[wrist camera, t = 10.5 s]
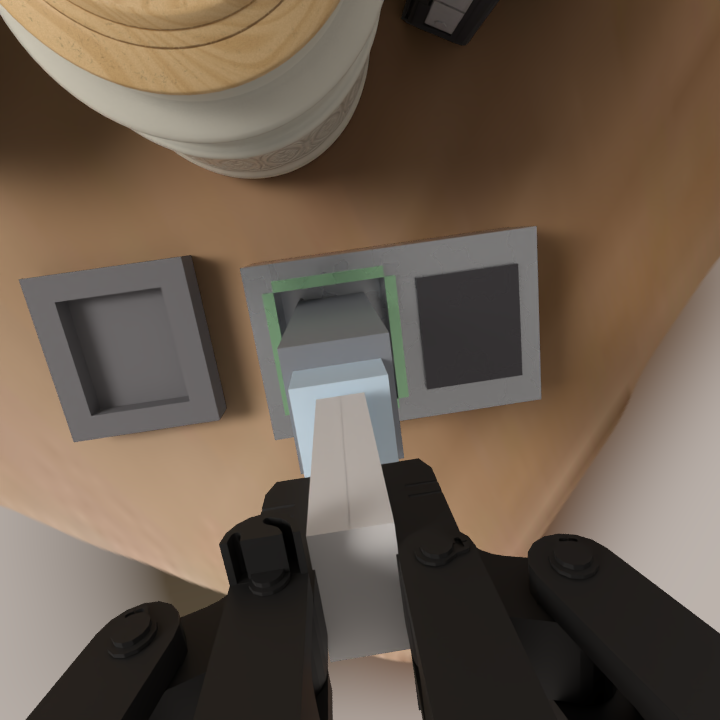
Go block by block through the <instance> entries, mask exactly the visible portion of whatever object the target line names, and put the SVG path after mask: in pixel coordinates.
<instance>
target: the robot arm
mask: <svg viewBox="0 0 720 720" xmlns="http://www.w3.org/2000/svg"><path fill="white" fill-rule="evenodd" d="M219 546H220V550H221V553H222V557H223V561H224V565H225V569H226V573H227V576H228V580H229V584H230V588H229V591H228V595H227V596H225V597H224V598H222V599H221V600H220V601H218V602H216V603H214V604H212V605H210V606H208V607H206V608H203V609H201V610H198V611H196V612H193V613H191V614H188V615H186V616H184V617H181V618H180V615H179V612H178V611H177V610H176V609H175V608H174V606H173V605H172V604H168V603H164V602H160V601H158V602H152V603H144V604H141V605H139V606H136V607H134V608H131V609H129V610H126V611H125V612H123V613H122V614H120V615H119V616H117V617H116V618H114V619H112V620H111V621H110V622H109V623H108V624H106V625H105V627H103V628H102V629H101V630H100V631H99V632H98V633H97V634H96V635H95V637H94V638H93V639H92V640H91V641H90V643H89V644H88V645H87V646H86V647H85V649H84V650H83V651H82V652H81V653H80V655H79V656H78V657H77V658H76V659H75V661H74V662H73V663H72V664H71V665H70V667H69V668H68V669H67V670H66V672H65V673H64V674H63V675H62V676H61V678H60V679H59V680H58V681H57V682H56V684H55V685H54V686H53V687H52V688H51V690H50V691H49V692H48V693H47V695H46V696H45V697H44V698H43V699H42V701H41V702H40V703H39V704H38V705H37V707H36V708H35V709H34V710H33V711H32V713H31V714H30V715H29V716H28V718H27V719H26V720H333V715H332V688H331V683H330V678H329V674H328V651H329V656H330V661H331V662H335V661H341V660H347V659H352V658H358V657H364V656H370V655H376V654H382V653H388V652H394V651H400V650H406V649H411V654H412V662H413V669H414V675H415V676H414V677H415V684H416V692H417V699H418V706H419V710H421V713H422V718H423V720H720V633H718V632H717V631H716V630H714V629H713V628H712V627H711V626H709V625H708V624H706V623H705V622H704V621H703V620H701V619H700V618H699V617H697V616H696V615H695V614H693V613H692V612H691V611H689V610H688V609H687V608H685V607H684V606H683V605H681V604H680V603H679V602H677V601H676V600H675V599H673V598H672V597H671V596H670V595H668V594H667V593H666V592H664V591H663V590H662V589H660V588H659V587H658V586H656V585H655V584H654V583H652V582H651V581H650V580H648V579H647V578H646V577H644V576H643V575H642V574H641V573H639V572H638V571H637V570H635V569H634V568H633V567H631V566H630V565H629V564H627V563H626V562H624V561H623V560H622V559H621V558H619V557H618V556H617V555H615V554H614V553H613V552H611V551H610V550H608V548H606V547H604V546H602V545H601V544H599V543H597V542H595V541H594V540H591V539H588V538H585V537H581V536H578V535H569V534H555V535H550V536H544V537H542V538H541V539H539V540H537V541H536V542H534V543H533V544H532V546H531V548H530V549H529V551H528V558H523V557H511V556H501V555H495V554H491V553H488V552H485V551H482V550H480V549H478V548H476V545H475V544H474V543H473V542H472V540H471V539H470V538H469V537H468V536H467V535H465V534H463V533H461V532H460V531H459V529H458V526H457V524H456V522H455V520H454V517H453V515H452V513H451V511H450V508H449V506H448V504H447V502H446V499H445V497H444V495H443V493H442V491H441V488H440V486H439V483H438V482H437V479H436V477H435V474H434V472H433V470H432V468H431V467H430V466H429V465H427V464H426V463H424V462H423V461H421V460H420V459H419V458H418V459H412V460H405V461H399V462H393V463H386V464H381V463H380V458H379V454H378V450H377V445H376V441H375V437H374V432H373V428H372V424H371V419H370V415H369V411H368V406H367V402H366V398H365V393H364V392H363V393H356V394H349V395H343V396H336V397H330V398H323V399H316V407H315V421H314V434H313V448H312V462H311V475H310V477H307V478H300V479H294V480H287V481H281V482H276V484H275V485H274V486H273V487H272V488H271V489H270V490H269V492H268V493H267V494H266V495H265V499H264V503H263V507H262V512H261V515H258V516H255V517H251V518H249V519H247V520H245V521H243V522H241V523H239V524H237V525H236V526H234V527H233V528H232V529H231V530H230V531H228V532H227V533H226V534H225V536H224V537H223V539H222V540H221V542H220V544H219Z"/></svg>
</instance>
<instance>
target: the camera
mask: <svg viewBox="0 0 720 720" xmlns="http://www.w3.org/2000/svg"><path fill="white" fill-rule="evenodd" d="M498 1H499V0H406V3H405V7H404V10H403V14H402V17H401V19H403V20H404V21H405V22H406V23H408V24H411V25H413V26H415V27H417V28H419V29H422V30H424V31H427V32H429V33H431V34H434V35H436V36H439V37H441V38H444V39H446V40H448V41H451V42H453V43H456V44H459V45H464V46H466V45H467V44H468V43H469V41H470V40H471V38H472V37H473V36H474V34H475V33H476V31H477V30H478V29H479V27H480V26H481V24H482V23H483V22H484V20H485V19H486V18H487V16H488V15H489V14H490V12H491V11H492V10H493V8H494V7H495V6H496V4H497V3H498Z"/></svg>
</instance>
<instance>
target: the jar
mask: <svg viewBox="0 0 720 720" xmlns="http://www.w3.org/2000/svg"><path fill="white" fill-rule="evenodd" d="M383 2H384V0H0V15H1V16H2V18H3V20H4V21H5V23H6V24H7V26H8V27H9V29H10V30H11V31H12V33H13V34H14V35H15V37H16V38H17V39H18V41H19V42H20V44H21V45H22V46H23V47H24V48H25V49H26V51H27V52H28V53H29V54H30V55H31V57H32V58H33V59H34V60H35V61H36V62H37V63H38V64H39V65H40V66H41V67H42V68H43V69H44V70H45V72H46V73H47V74H49V75H50V76H51V77H52V78H53V79H54V80H55V81H56V82H57V83H58V84H59V85H61V86H62V87H63V88H64V89H66V90H67V91H68V92H69V93H70V94H72V95H73V96H74V97H76V98H77V99H78V100H80V101H81V102H83V103H84V104H86V105H87V106H88V107H90V108H92V109H93V110H95V111H97V112H98V113H100V114H102V115H103V116H105V117H107V118H109V119H111V120H113V121H115V122H117V123H119V124H121V125H123V126H126V127H128V128H130V129H131V130H133V131H134V132H136V133H138V134H139V135H141V136H143V137H144V138H146V139H148V140H150V141H152V142H154V143H156V144H158V145H161V146H163V147H165V148H168V149H170V150H173V151H174V152H176V153H177V154H178V155H180V156H182V157H183V158H185V159H186V160H188V161H190V162H192V163H194V164H196V165H198V166H200V167H202V168H205V169H207V170H209V171H212V172H215V173H218V174H221V175H226V176H230V177H236V178H246V179H259V178H269V177H274V176H279V175H282V174H286V173H289V172H291V171H294V170H296V169H298V168H301V167H303V166H304V165H306V164H308V163H310V162H311V161H313V160H314V159H316V158H317V157H318V156H320V155H321V154H322V153H323V152H325V151H326V150H327V149H328V148H329V147H330V146H331V145H332V144H333V143H334V142H335V140H336V139H337V138H338V137H339V136H340V134H341V133H342V132H343V130H344V129H345V127H346V126H347V124H348V123H349V121H350V119H351V117H352V115H353V114H354V112H355V109H356V107H357V105H358V102H359V100H360V97H361V94H362V91H363V87H364V83H365V80H366V75H367V70H368V64H369V57H370V50H371V47H372V45H373V42H374V38H375V34H376V31H377V27H378V22H379V17H380V12H381V7H382V5H383Z"/></svg>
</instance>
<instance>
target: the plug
mask: <svg viewBox="0 0 720 720" xmlns="http://www.w3.org/2000/svg"><path fill="white" fill-rule="evenodd" d="M277 351H278V356H279V361H280V366H281V372H282V377H283V382H284V387H285V392H286V398H287V403H288V408H289V413H290V419H291V424H292V429H293V434H294V439H295V445H296V450H297V455H298V460H299V465H300V471H301V474H304V476H305V478H307V477H310V475H311V462H312V448H313V434H314V421H315V407H316V399H323V398H330V397H336V396H343V395H349V394H356V393H363V392H364V393H365V398H366V402H367V406H368V411H369V415H370V419H371V424H372V428H373V432H374V437H375V441H376V445H377V450H378V454H379V458H380V463H381V464H386V463H393V462H399V460H398V459H401V458H404V453H403V445H402V437H401V428H400V420H399V412H398V404H397V395H396V387H395V379H394V370H393V362H392V354H391V346H390V337H389V332H388V330H387V329H386V327H385V325H384V324H383V322H382V321H381V319H380V317H379V316H378V314H377V312H376V311H375V309H374V308H373V306H372V304H371V303H370V301H369V300H368V298H367V296H366V295H365V293H364V292H358V293H351V294H344V295H337V296H330V297H323V298H317V299H310V300H303V301H298V303H297V306H296V308H295V310H294V312H293V315H292V317H291V319H290V321H289V323H288V326H287V328H286V330H285V332H284V335H283V337H282V339H281V341H280V344H279V346H278V348H277Z"/></svg>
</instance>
